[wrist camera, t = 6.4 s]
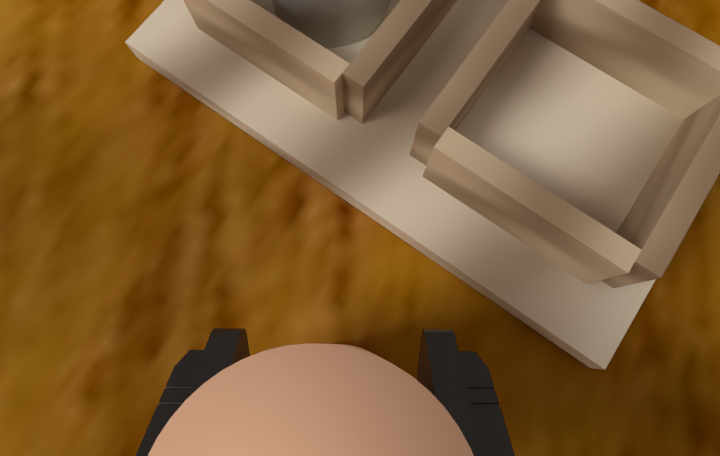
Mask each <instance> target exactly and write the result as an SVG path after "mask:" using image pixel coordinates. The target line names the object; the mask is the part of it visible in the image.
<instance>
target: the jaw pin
mask: <svg viewBox="0 0 720 456" xmlns="http://www.w3.org/2000/svg"><path fill="white" fill-rule="evenodd" d="M272 1H273V5H274V9H275V13H276V15H277V17H278V18H279V19H281V20H282V21H284V22H285V23H287V24H289V25H290V26H292V27H293V28H295V29H296V30H298V31H300V32H301V33H303V34H304V35H306V36H307V37H309V38H310V39H312V40H314V41H315V42H317V43H318V44H320V45H321V46H323V47H325V48H335V47H343V46H348V45H351V44H354V43H356V42H359V41H361V40H363V39H364V38H366V37H367V36H369V35H370V34H371V33H372V32H374V31H375V30H376V29H377V27H378V26H379V25H380V24H381V22H382V21H383V19H384V17H385V15H386V12H387V9H388V4H389V0H272Z"/></svg>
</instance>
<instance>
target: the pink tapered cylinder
mask: <svg viewBox="0 0 720 456" xmlns="http://www.w3.org/2000/svg"><path fill="white" fill-rule="evenodd" d="M148 456H474V455H473V453H472V450H471V448H470V446H469V444H468V443H467V441H466V439H465V437H464V435H463V434H462V432H461V430H460V428H459V426H458V425H457V424H456V422H455V421H454V420H453V418H452V417H451V415H450V414H449V413H448V411H447V410H446V408H445V407H444V406H443V405H442V404H441V403H440V402H439V401H438V400H437V399H436V397H435V396H434V395H433V394H432V393H431V392H430V391H429V390H428V389H427V388H426V387H424V386H423V385H422V384H421V383H420V382H418V381H417V380H416V379H415V378H414V377H412V376H411V375H410V374H408V373H406V372H405V371H403V370H402V369H400V368H399V367H397V366H395V365H394V364H392V363H390V362H388V361H387V360H385V359H383V358H381V357H379V356H377V355H375V354H373V353H372V352H370V351H367V350H365V349H363V348H360V347H357V346H353V345H347V344H314V343H306V344H296V345H287V346H282V347H278V348H274V349H270V350H265V351H262V352H260V353H257V354H254V355H252V356H249V357H247V358H244V359H242V360H240V361H238V362H236V363H234V364H233V365H231V366H229V367H227V368H225V369H223V370H222V371H220V372H219V373H218V374H216V375H215V376H213V377H212V378H211V379H209V380H208V381H206V382H205V383H204V384H203V385H201V386H200V387H199V388H198V389H197V390H196V391H195V392H194V393H193V394H192V395H191V396H190V397H188V398H187V399H186V400H185V401H184V403H183V404H182V405H181V406H180V407H179V409H178V410H177V411H176V412H175V413H174V414H173V416H172V417H171V418H170V419H169V421H168V422H167V424H166V425H165V427H164V428H163V430H162V431H161V433H160V434H159V436H158V437H157V439H156V440H155V442H154V444H153V446H152V448H151V450H150V452H149V454H148Z"/></svg>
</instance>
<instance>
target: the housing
mask: <svg viewBox="0 0 720 456" xmlns="http://www.w3.org/2000/svg"><path fill="white" fill-rule="evenodd" d="M125 43H126V44H127V45H128V47H129V48H130V49H131V50H132V52H133V53H134V54H135V56H136V57H137V58H138V59H140V60H141V61H142V62H144V63H145V64H147V65H148V66H150V67H151V68H153V69H154V70H156V71H157V72H159V73H160V74H161V75H163V76H164V77H166V78H167V79H169V80H170V81H172V82H173V83H175V84H176V85H177V86H179V87H180V88H182V89H183V90H185V91H186V92H188V93H189V94H191V95H192V96H194V97H195V98H196V99H198V100H199V101H201V102H202V103H204V104H205V105H207V106H208V107H210V108H211V109H213V110H214V111H215V112H217V113H218V114H220V115H221V116H223V117H224V118H226V119H227V120H229V121H230V122H232V123H233V124H234V125H236V126H237V127H239V128H240V129H242V130H243V131H245V132H246V133H248V134H249V135H250V136H252V137H253V138H255V139H256V140H258V141H259V142H261V143H262V144H264V145H265V146H267V147H268V148H269V149H271V150H272V151H274V152H275V153H277V154H278V155H280V156H281V157H283V158H284V159H286V160H287V161H288V162H290V163H291V164H293V165H294V166H296V167H297V168H299V169H300V170H302V171H303V172H304V173H306V174H307V175H309V176H310V177H312V178H313V179H315V180H316V181H318V182H319V183H321V184H322V185H323V186H325V187H326V188H328V189H329V190H331V191H332V192H334V193H335V194H337V195H338V196H340V197H341V198H342V199H344V200H345V201H347V202H348V203H350V204H351V205H353V206H354V207H356V208H357V209H358V210H360V211H361V212H363V213H364V214H366V215H367V216H369V217H370V218H372V219H373V220H375V221H376V222H377V223H379V224H380V225H382V226H383V227H385V228H386V229H388V230H389V231H391V232H392V233H394V234H395V235H396V236H398V237H399V238H401V239H402V240H404V241H405V242H407V243H408V244H410V245H411V246H413V247H414V248H415V249H417V250H418V251H420V252H421V253H423V254H424V255H426V256H427V257H429V258H430V259H431V260H433V261H434V262H436V263H437V264H439V265H440V266H442V267H443V268H445V269H446V270H448V271H449V272H450V273H452V274H453V275H455V276H456V277H458V278H459V279H461V280H462V281H464V282H465V283H467V284H468V285H469V286H471V287H472V288H474V289H475V290H477V291H478V292H480V293H481V294H483V295H484V296H485V297H487V298H488V299H490V300H491V301H493V302H494V303H496V304H497V305H499V306H500V307H502V308H503V309H504V310H506V311H507V312H509V313H510V314H512V315H513V316H515V317H516V318H518V319H519V320H521V321H522V322H523V323H525V324H526V325H528V326H529V327H531V328H532V329H534V330H535V331H537V332H538V333H539V334H541V335H542V336H544V337H545V338H547V339H548V340H550V341H551V342H553V343H554V344H556V345H557V346H558V347H560V348H561V349H563V350H564V351H566V352H567V353H569V354H570V355H572V356H573V357H575V358H576V359H577V360H579V361H580V362H582V363H583V364H585V365H586V366H588V367H589V368H594V369H604V370H605V369H606V367H607V366H608V364H609V362H610V360H611V359H612V357H613V355H614V353H615V351H616V350H617V348H618V346H619V344H620V342H621V341H622V339H623V337H624V335H625V334H626V332H627V330H628V328H629V326H630V325H631V323H632V321H633V319H634V317H635V316H636V314H637V312H638V310H639V309H640V307H641V305H642V303H643V301H644V300H645V298H646V296H647V294H648V292H649V291H650V289H651V287H652V285H653V284H654V282H655V280H656V279H659V278H661V277H662V276H663V274H664V272H665V270H666V268H667V267H668V265H669V263H670V261H671V260H672V258H673V256H674V254H675V252H676V251H677V249H678V247H679V245H680V243H681V242H682V240H683V238H684V236H685V234H686V233H687V231H688V229H689V227H690V225H691V224H692V222H693V220H694V218H695V216H696V215H697V213H698V211H699V209H700V208H701V206H702V204H703V202H704V200H705V199H706V197H707V195H708V193H709V191H710V190H711V188H712V186H713V184H714V182H715V181H716V179H717V177H718V175H719V173H720V46H719V45H717V44H715V43H713V42H712V41H710V40H708V39H706V38H704V37H703V36H701V35H699V34H697V33H696V32H694V31H692V30H690V29H688V28H687V27H685V26H683V25H681V24H679V23H678V22H676V21H674V20H672V19H671V18H669V17H667V16H665V15H663V14H662V13H660V12H658V11H656V10H655V9H653V8H651V7H649V6H647V5H646V4H644V3H642V2H640V1H638V0H389V4H388V9H387V12H386V15H385V17H384V19H383V21H382V22H381V24H380V25H379V26H378V27H377V29H376V30H375V31H374V32H372V33H371V34H370V35H369V36H367V37H366V38H364V39H363V40H361V41H359V42H356V43H354V44H351V45H348V46H343V47H335V48H325V47H323V46H321V45H320V44H318V43H317V42H315V41H314V40H312V39H310V38H309V37H307V36H306V35H304V34H303V33H301V32H300V31H298V30H296V29H295V28H293V27H292V26H290V25H289V24H287V23H285V22H284V21H282V20H281V19H279V18H278V17H277V15H276V13H275V9H274V5H273V1H272V0H164V1H163V2H162V4H161V5H160V6H159V7H158V8H157V9H156V10H155V11H154V12H153V13H152V14H151V15H150V16H149V17H148V18H147V19H146V20H145V21H144V23H143V24H142V25H141V26H140V27H139V28H138V29H137V30H136V31H135V32H134V33H133V34H132V35H131V36H130V37H129V38H128V39H127V40H126V41H125Z"/></svg>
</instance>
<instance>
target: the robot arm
mask: <svg viewBox="0 0 720 456" xmlns="http://www.w3.org/2000/svg"><path fill="white" fill-rule="evenodd" d="M249 356H250V353H249V347H248V340H247V334H246V331H245V329H224V328H215V329H213V330H212V332H211V334H210V337H209V339H208V342H207V344H206V347H205V350H190V351H189V352H188V353H187V354H186V355H185V356H184V357H183V358H182V359H181V360H180V361H179V362H178V363H177V364H176V365H175V366H174V369H173V371H172V373H171V376H170V378H169V380H168V383H167V385H166V389H164V392H163V394H162V396H161V399H160V401H159V402H160V403H159V405H158V406H157V408H156V410H155V413H154V415H153V417H152V419H151V422H150V424H149V426H148V429H147V431H146V433H145V436H144V438H143V440H142V442H141V445H140V447H139V449H138V452H137V454H136V456H148V454H149V452H150V450H151V448H152V446H153V444H154V442H155V440H156V439H157V437H158V436H159V434H160V433H161V431H162V430H163V428H164V427H165V425H166V424H167V422H168V421H169V419H170V418H171V417H172V416H173V414H174V413H175V412H176V411H177V410H178V409H179V407H180V406H181V405H182V404H183V403H184V401H185V400H186V399H187V398H188V397H190V396H191V395H192V394H193V393H194V392H195V391H196V390H197V389H198V388H199V387H200V386H201V385H203V384H204V383H205V382H206V381H208V380H209V379H211V378H212V377H213V376H215V375H216V374H218V373H219V372H220V371H222V370H223V369H225V368H227V367H229V366H231V365H233V364H234V363H236V362H238V361H240V360H242V359H244V358H247V357H249ZM417 381H418V382H420V383H421V384H422V385H423V386H424V387H426V388H427V389H428V390H429V391H430V392H431V393H432V394H433V395H434V396H435V397H436V399H437V400H438V401H439V402H440V403H441V404H442V405H443V406H444V407H445V408H446V410H447V411H448V413H449V414H450V415H451V417H452V418H453V420H454V421H455V422H456V424H457V425H458V426H459V428H460V430H461V432H462V434H463V435H464V437H465V439H466V441H467V443H468V444H469V446H470V448H471V450H472V453H473V455H474V456H514V452H513V449H512V445H511V442H510V439H509V435H508V432H507V429H506V425H505V422H504V419H503V415H502V412H501V409H500V407H499V402H498V399H497V395H496V392H495V391H494V385H493V382H492V379H491V375H490V372H489V369H488V367H487V366H486V365H485V363H484V362H483V361H482V360H481V358H480V357H479V356H478V355H477V354H476V352H466V351H458V347H457V343H456V339H455V335H454V332H453V330H422V335H421V344H420V354H419V363H418V374H417Z"/></svg>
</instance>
